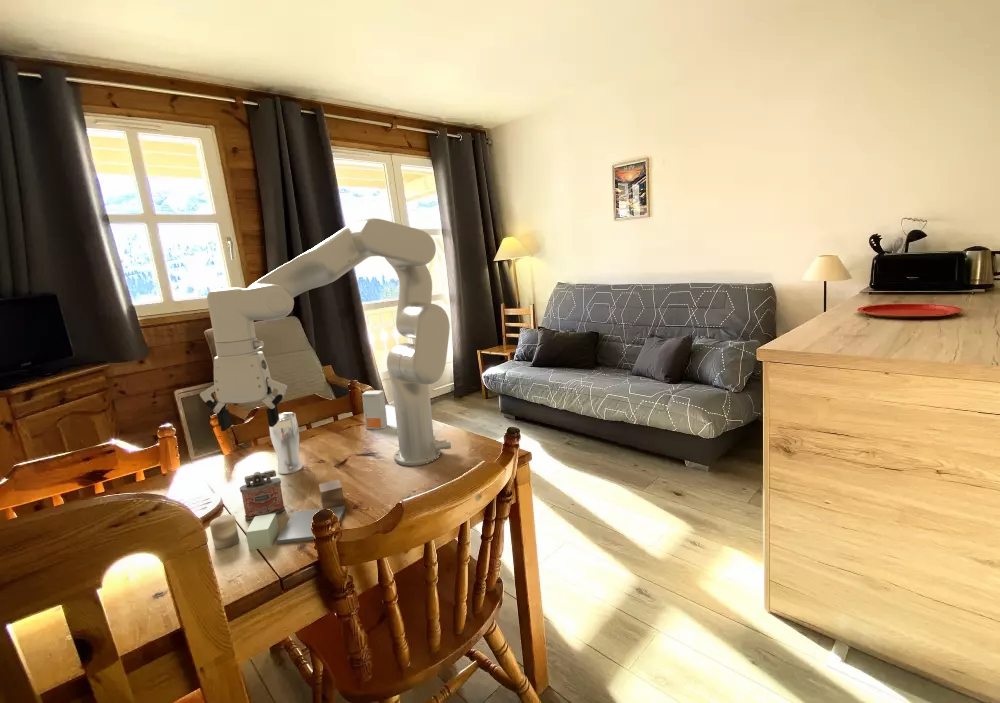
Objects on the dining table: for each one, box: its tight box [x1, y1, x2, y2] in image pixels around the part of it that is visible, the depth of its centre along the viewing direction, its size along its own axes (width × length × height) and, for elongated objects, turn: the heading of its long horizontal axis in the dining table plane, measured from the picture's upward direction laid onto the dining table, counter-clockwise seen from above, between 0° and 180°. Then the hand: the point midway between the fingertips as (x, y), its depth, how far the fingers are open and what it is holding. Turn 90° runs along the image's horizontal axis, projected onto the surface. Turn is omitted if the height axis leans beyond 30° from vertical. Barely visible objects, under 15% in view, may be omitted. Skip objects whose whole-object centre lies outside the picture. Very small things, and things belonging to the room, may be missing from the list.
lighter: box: [239, 469, 286, 523], centre depth 106 cm, size 8×3×10 cm, turn 114°
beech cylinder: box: [209, 514, 240, 551], centre depth 97 cm, size 4×4×5 cm
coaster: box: [275, 505, 346, 545], centre depth 102 cm, size 11×11×1 cm
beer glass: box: [268, 411, 303, 475], centre depth 129 cm, size 7×7×15 cm
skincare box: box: [361, 389, 388, 430], centre depth 158 cm, size 6×4×12 cm
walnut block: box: [318, 479, 345, 509], centre depth 110 cm, size 4×4×4 cm
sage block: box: [245, 513, 279, 551], centre depth 97 cm, size 4×6×4 cm
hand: (250, 426), depth 104 cm, fingers open, 9 cm apart
